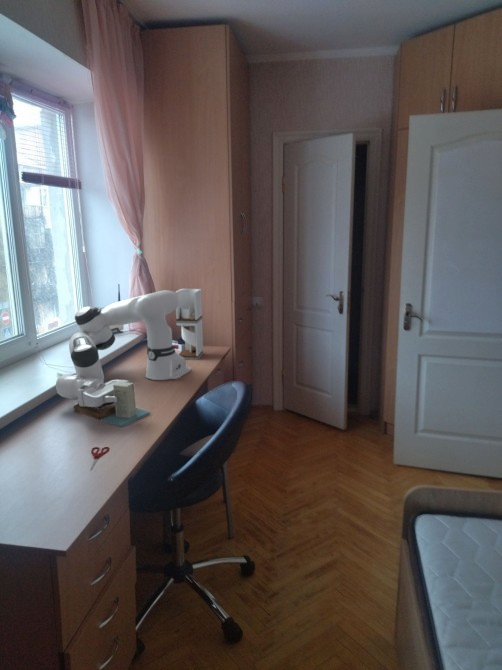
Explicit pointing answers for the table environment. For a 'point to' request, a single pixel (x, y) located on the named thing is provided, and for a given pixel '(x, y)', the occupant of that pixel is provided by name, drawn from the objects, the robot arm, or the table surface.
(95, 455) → the scissors
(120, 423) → the teal mat
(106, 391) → the robot arm
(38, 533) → the table surface
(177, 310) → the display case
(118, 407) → the skincare box
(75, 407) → the pocket holder
